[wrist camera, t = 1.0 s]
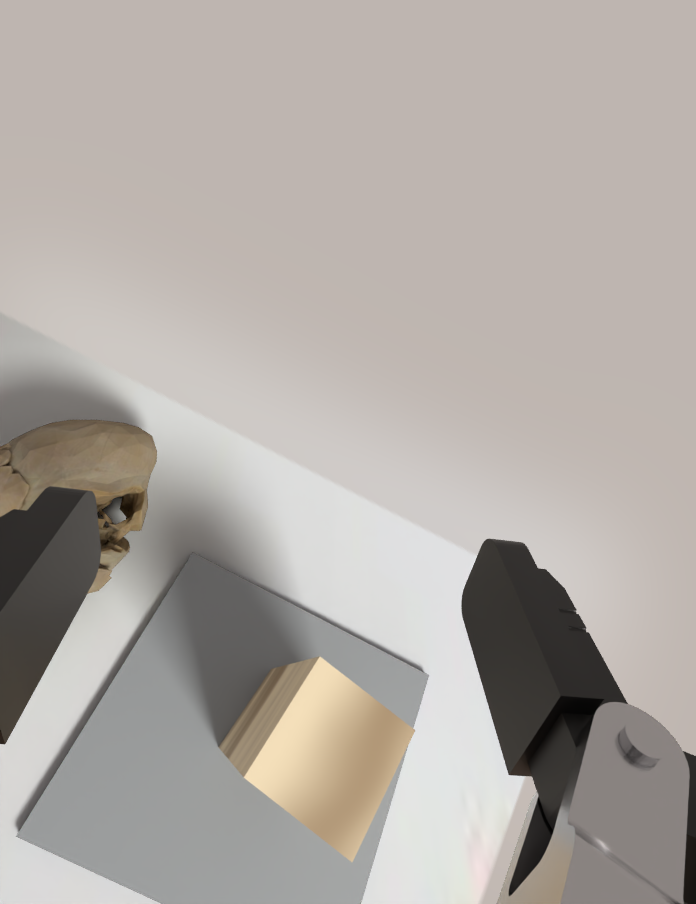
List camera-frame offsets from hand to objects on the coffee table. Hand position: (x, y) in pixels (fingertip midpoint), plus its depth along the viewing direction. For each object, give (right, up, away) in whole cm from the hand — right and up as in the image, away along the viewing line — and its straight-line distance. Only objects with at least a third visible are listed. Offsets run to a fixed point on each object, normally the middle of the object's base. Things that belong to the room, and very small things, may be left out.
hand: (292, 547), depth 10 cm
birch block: (-3, -15, +19) cm, 24 cm away
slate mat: (-4, -15, +19) cm, 25 cm away
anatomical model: (-17, -3, +21) cm, 27 cm away
